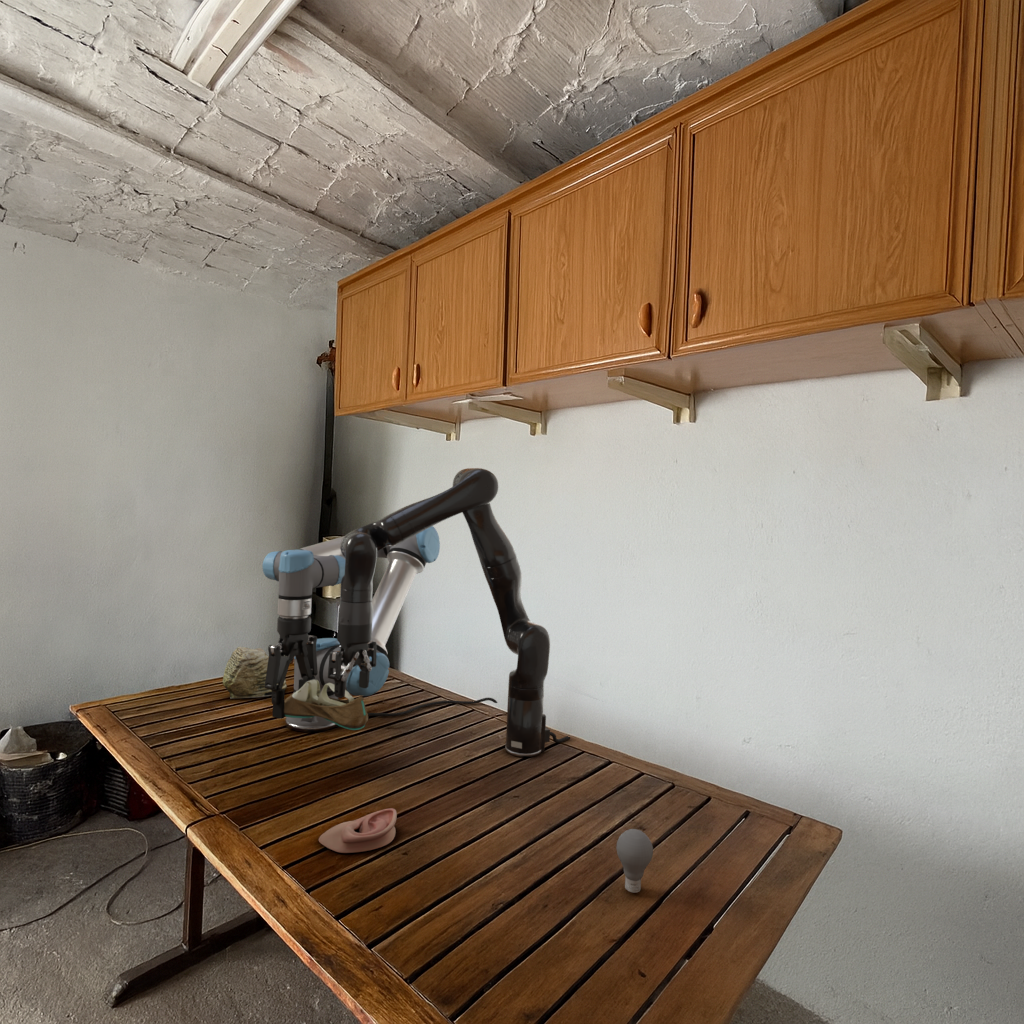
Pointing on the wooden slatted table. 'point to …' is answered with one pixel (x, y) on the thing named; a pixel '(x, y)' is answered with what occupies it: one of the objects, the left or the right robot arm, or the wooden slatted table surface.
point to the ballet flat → (326, 706)
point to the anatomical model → (362, 833)
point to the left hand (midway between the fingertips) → (291, 711)
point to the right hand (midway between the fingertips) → (352, 692)
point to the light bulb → (634, 857)
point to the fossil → (247, 673)
